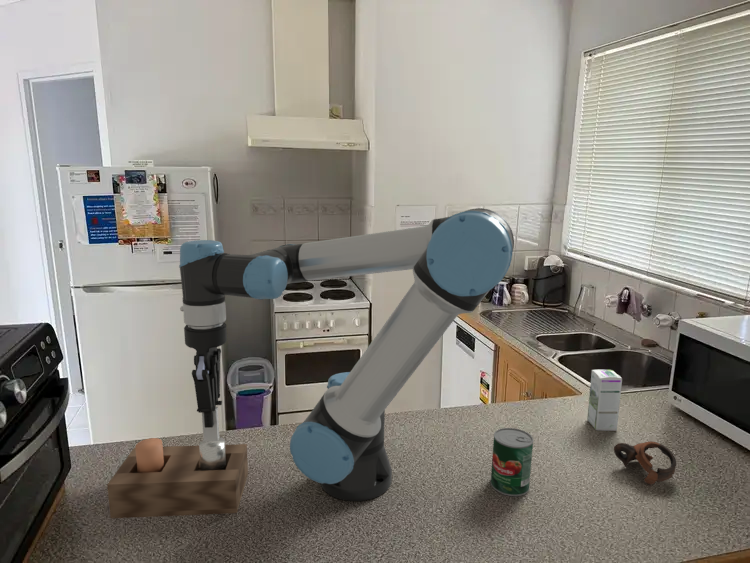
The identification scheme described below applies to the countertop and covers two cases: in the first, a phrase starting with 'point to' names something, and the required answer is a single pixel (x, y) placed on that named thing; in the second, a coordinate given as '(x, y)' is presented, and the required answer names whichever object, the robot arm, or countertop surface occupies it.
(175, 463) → the brown wooden block
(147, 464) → the tan rounded piece
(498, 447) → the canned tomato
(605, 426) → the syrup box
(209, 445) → the grey rounded piece
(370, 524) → the countertop surface
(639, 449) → the brown double ring
